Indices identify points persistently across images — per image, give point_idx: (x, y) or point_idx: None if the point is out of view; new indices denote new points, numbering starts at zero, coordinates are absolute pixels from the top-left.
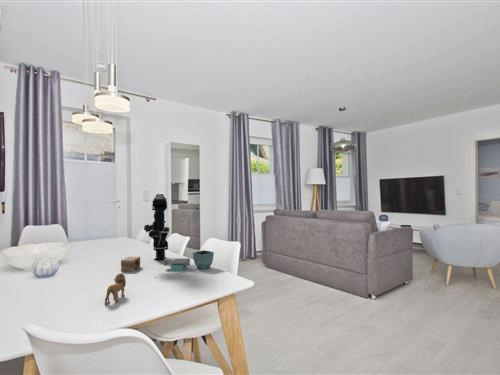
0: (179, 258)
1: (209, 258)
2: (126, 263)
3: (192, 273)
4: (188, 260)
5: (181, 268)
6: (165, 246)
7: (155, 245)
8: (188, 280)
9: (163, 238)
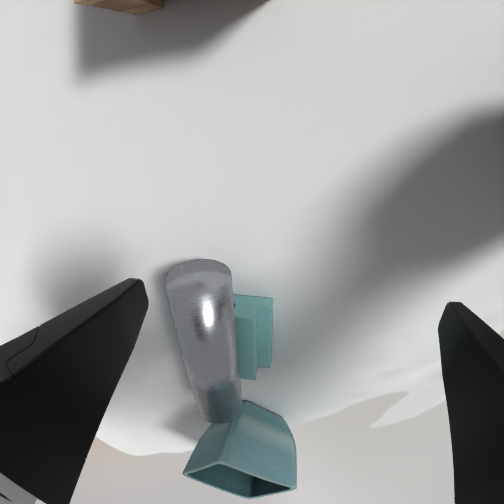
0: (207, 387)
1: (230, 468)
2: None
3: (155, 380)
4: (199, 413)
5: None
6: None
7: (98, 297)
8: None
9: (473, 432)
